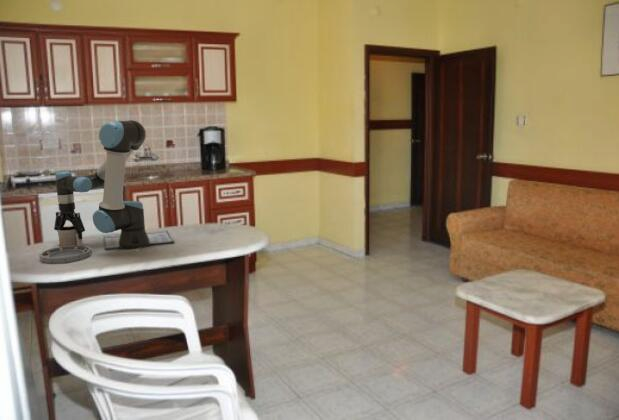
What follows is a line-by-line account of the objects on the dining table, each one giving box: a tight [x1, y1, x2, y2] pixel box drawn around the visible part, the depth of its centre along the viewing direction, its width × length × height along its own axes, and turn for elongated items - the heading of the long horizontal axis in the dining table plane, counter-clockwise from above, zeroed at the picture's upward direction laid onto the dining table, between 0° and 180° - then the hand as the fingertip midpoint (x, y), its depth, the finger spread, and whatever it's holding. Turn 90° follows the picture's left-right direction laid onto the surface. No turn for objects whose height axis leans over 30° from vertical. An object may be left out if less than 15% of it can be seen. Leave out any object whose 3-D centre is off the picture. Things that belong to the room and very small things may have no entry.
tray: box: [38, 245, 93, 265], centre depth 248 cm, size 22×22×3 cm
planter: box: [57, 225, 84, 247], centre depth 267 cm, size 11×11×10 cm
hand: (71, 244), depth 268 cm, fingers closed on planter, 11 cm apart
